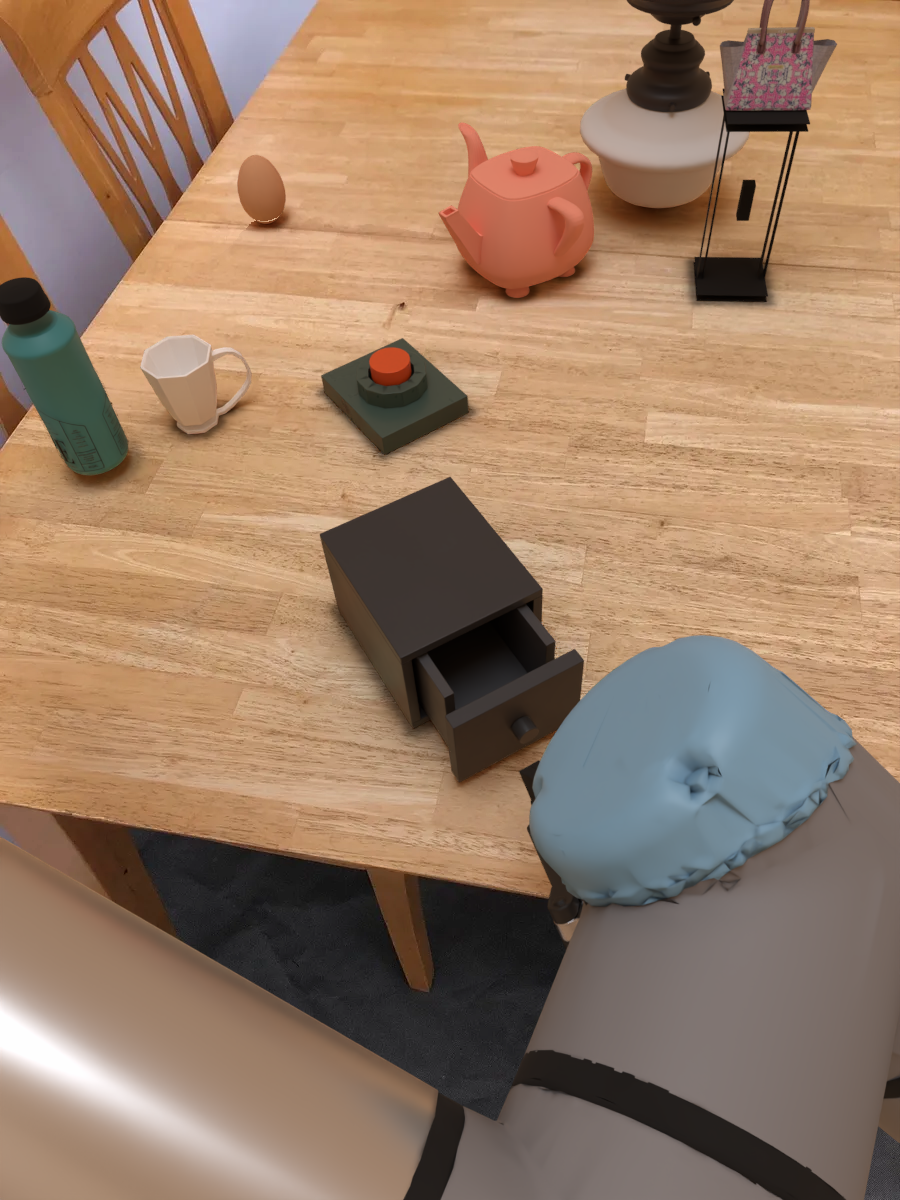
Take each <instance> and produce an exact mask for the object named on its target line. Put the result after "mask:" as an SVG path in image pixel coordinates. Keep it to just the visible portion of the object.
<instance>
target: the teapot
mask: <svg viewBox="0 0 900 1200" xmlns="http://www.w3.org/2000/svg"><path fill="white" fill-rule="evenodd" d="M457 127H458V129H459V132H460V133H461V136H462V137H463V139H464V142H465V145H466V151H467V161H468V163H467V165H468V166H467V179H466V182H465V184H464V187H463V190H462V193H461V195H460V198H459V201H458V205H457V208H456V207H455V206H453V205H448V206H447V207H446V208H443V209H442V210H440V211H439V212H438V216H439V218H440V219H441V221H442V223H443V224H444V227H445V228H446V230H447V231H448V233H449V235H450V237H451V239H452V240H453V242H454V243H455V246H456V249H457V250H458V252H459V254H460V255H461V256H462V258H463V259H464V260H465V262H466V263H467V264H468V266H469V267H471V268H472V269H473V270H474V271H475V272H477V274H479V275H480V276H482V277H483V278H484V279H485V280H487V281H489V282H490V283H492V284H494V285H495V286H497V287H499V288H502V289H505V294H506V295H507V296H508V297H511V298H513V299H519V298H525V297H527V296H528V295H529V293H530V287H531V286H535V285H539V284H542V283H545V282H548V281H551V280H554V279H555V278H558V277H560V278H567V277H570V276H572V275H574V274H575V272H576V268H575V267H576V266H577V265H578V264H579V263H580V262H582V260H583V259H584V258H585V257H586V256H587V254H588V252H589V251H590V249H591V247H592V245H593V243H594V239H595V221H594V214H593V208H592V202H591V198H590V195H589V192H588V191H589V187H590V184H591V181H592V177H593V164H592V162H591V160H590V159H589V158H588V157H587V156H586V155H585V154H582V153H581V152H577V151H576V152H575V151H574V152H573V151H572V152H568V153H566V154H564V155H562V156H561V155H560V154H558V153H556V152H554V151H553V150H551V149H548V148H546V147H544V146H540V145H531V146H525V147H520V148H515V149H513V150H510V151H506V152H503V153H500V154H498V155H495V156H493V157H491V158H488V155H487V152H486V150H485V147H484V144H483V141H482V139H481V137H480V135H479V133H478V132H477V130H476V129H475V128H474V127H473V126H471V125H470V124H468V123H467V122H459V123H458V124H457ZM576 164H579V168H577V166H576Z"/></svg>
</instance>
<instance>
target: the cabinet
mask: <svg viewBox="0 0 900 1200" xmlns="http://www.w3.org/2000/svg"><path fill="white" fill-rule="evenodd" d="M319 538H320V542H321V547H322V550H323V554H324V559H325V562H326V566H327V570H328V574H329V578H330V583H331V587H332V591H333V593H334V598H335V602H336V606H337V609H338V611H339V613H340V614H341V616H342V618H343V619H344V621H345V623H346V624H347V626H348V627H349V629H350V631H351V632H352V634H353V636H354V637H355V638H356V640H357V642H358V643H359V645H360V647H361V648H362V650H363V652H364V653H365V654H366V656H367V658H368V659H369V661H370V663H371V664H372V666H373V668H374V669H375V671H376V672H377V674H378V676H379V677H380V679H381V680H382V682H383V684H384V685H385V687H386V688H387V690H388V692H389V693H390V695H391V697H392V698H393V700H394V701H395V703H396V705H397V706H398V708H399V709H400V711H401V712H402V715H404V717H405V719H406V720H407V722H408V723H409V725H410V727H411V728H412V729H415V728H417V727H419V726H421V725H423V724H425V723H427V722H429V721H431V720H430V718H429V716H428V715H427V713H426V712H425V710H424V709H423V707H422V706H421V704H420V702H419V701H418V698H417V692H416V686H415V680H414V673H413V667H412V661H411V660H412V659H414V658H416V657H418V656H420V655H422V654H424V653H426V652H428V651H430V650H432V649H434V648H436V647H438V646H440V645H442V644H444V643H446V642H448V641H450V640H452V639H454V638H456V637H458V636H461V635H463V634H465V633H467V632H469V631H471V630H473V629H475V628H477V627H479V626H481V625H483V624H485V623H487V622H489V621H491V620H493V619H495V618H497V617H499V616H501V615H503V614H505V613H507V612H509V611H511V610H513V609H515V608H517V607H519V606H521V605H524V604H526V605H527V606H528V607H529V608H530V610H531V611H532V612H533V613H534V615H535V616H536V617H537V618H538V620H539V621H540V622H541V623H542V624H543V621H542V620H543V601H544V600H543V598H544V597H543V594H544V593H543V591H544V590H543V587H542V586H541V584H539V582H538V581H537V580H536V578H535V577H534V576H533V575H532V573H530V571H529V570H528V569H527V567H526V566H525V565H524V564H523V563H522V562H521V560H520V559H519V558H518V557H517V556H516V554H515V553H514V552H513V551H512V549H511V548H510V546H508V545H507V543H506V541H504V540H503V538H502V537H501V536H500V535H499V534H498V533H497V531H496V530H495V529H494V527H493V526H492V525H491V524H490V523H489V521H488V520H487V519H486V518H485V517H484V516H483V514H482V513H481V512H480V510H479V509H478V508H477V507H476V506H475V504H474V503H473V502H472V501H471V499H470V498H469V497H468V496H467V495H466V493H465V492H464V491H463V490H462V489H461V488H460V486H459V485H458V484H457V482H455V480H454V479H453V478H452V477H451V476H449V477H445V478H444V479H441V480H439V481H437V482H434V483H432V484H430V485H427V486H425V487H423V488H421V489H419V490H416V491H414V492H412V493H409V494H408V495H404V496H403V497H400V498H397V499H396V500H393V501H392V502H389V503H387V504H384V505H383V506H382V505H381V506H380V507H377V508H375V509H372V510H371V511H368V512H366V513H363V514H362V515H360V516H357V517H355V518H352V519H351V520H348V521H346V522H343V523H341V524H339V525H337V526H334V527H332V528H329V529H327V530H325V531H323V532H320V533H319Z"/></svg>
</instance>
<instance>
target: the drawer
mask: <svg viewBox="0 0 900 1200" xmlns="http://www.w3.org/2000/svg"><path fill="white" fill-rule="evenodd" d="M411 661H412V667H413V673H414V680H415V686H416V692H417V698H418V701H419V702H420V704H421V706H422V707H423V709H424V710H425V712H426V713H427V715H428V716H429V718H430V720H429V721H431V723H432V725H433V726H434V727H435V729H436V731H437V732H438V734H439V735H440V737H441V738H442V740H443V741H444V743H445V744H446V747H448V754H449V762H450V771H451V773H452V774H453V776H454V778H455V779H456V781H457V782H458V783H462V782H463V781H465V780H467V779H469V778H470V777H472V776H474V775H476V774H478V773H481V772H482V771H484V770H485V769H487V768H490V767H491V766H493V765H495V764H497V763H498V762H500V761H502V760H504V759H506V758H507V757H510V756H511V755H513V754H515V753H517V752H519V751H520V750H522V749H524V748H526V747H528V746H530V745H531V744H534V743H536V742H537V741H540V740H541V739H543V738H545V737H547V736H548V735H550V734H552V733H553V732H557V730H558V729H559V727H560V725H561V724H562V723H563V721H564V720H565V718H566V717H567V716H568V714H569V713H570V712H571V711H572V709H573V708H574V707H575V706H576V705H577V703H578V702H579V701H580V700H581V698H582V697H581V696H582V687H583V676H584V675H583V674H584V666H585V660H584V658H583V657H582V655H580V653H579V652H578V651H577V650H576V648H573V649H571V650H570V651H567V652H565V653H563V654H562V655H560V656H558V657H556V640H555V638H554V637H553V636H552V635H551V633H550V632H549V631H548V629H547V628H546V627H545V626H544V624H543V622H542V623H541V622H540V621H539V620H538V618H537V617H536V616H535V615H534V613H533V612H532V611H531V610H530V608H529V607H528V606H527V605H526V604H524V605H521V606H519V607H517V608H515V609H513V610H511V611H509V612H507V613H505V614H503V615H501V616H499V617H497V618H495V619H493V620H491V621H489V622H487V623H485V624H483V625H481V626H479V627H477V628H475V629H473V630H471V631H469V632H467V633H465V634H463V635H461V636H458V637H456V638H454V639H452V640H450V641H448V642H446V643H444V644H442V645H440V646H438V647H436V648H434V649H432V650H430V651H428V652H426V653H424V654H422V655H420V656H418V657H416V658H414V659H412V660H411Z"/></svg>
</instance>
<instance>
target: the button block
mask: <svg viewBox="0 0 900 1200" xmlns="http://www.w3.org/2000/svg"><path fill="white" fill-rule="evenodd" d="M391 347H393V348H400V349H402V350H404V351H406V352H407V353H408V354H409V356H410V363H411V377H410V378H409V380H408V381H406V382H404V383H402V384H400V385H393V386H383V385H380V384H376V383H375V382H374V381H373V380H372V377H371V370H370V364H369V360H370V358H371V356H372V355H373V354H374V353H375V352H377V351H378V350H381V349H384V348H391ZM320 377H321V382H322V387H323V392H324V393H325V395H326V396H328V397H329V399H330V400H331V401H332V402H333V403H334V404H335V405H336V406H337V407H338V408H339V409H340V410H341V411H342V412H343V413H344V415H345V416H347V418H349V420H350V421H351V422H353V424H354V425H355V426H356V427H357V428H358V429H359V430H360V431H361V432H362V433H363V434H364V435H365V436H366V437H367V438H368V439H369V440H370V441H371V443H373V444H374V445H375V447H377V449H378V450H379V451H380V452H381V453H382V454H383V455H388V454H389V453H391V452H394V451H395V450H398V449H400V448H402V447H403V446H405V445H407V444H409V443H412V442H413V441H415V440H417V439H419V438H421V437H423V436H426V435H427V434H429V433H431V432H434V431H436V430H437V429H439V428H442V427H443V426H445V425H447V424H449V423H451V422H454V421H455V420H457V419H459V418H461V417H463V416H465V415H467V414H468V413H469V397H468V395H467V394H466V393H465V391H463V390H462V389H461V388H460V387H458V386H457V385H456V384H455V383H454V382H453V381H452V380H451V379H449V378H448V377H447V376H446V375H445V374H444V373H443V372H441V370H439V369H438V367H436V366H435V365H434V364H433V363H432V362H431V361H430V360H428V359H427V357H425V356H424V355H423V354H421V352H419V350H417V349H416V348H415V347H413V345H412V344H410V343H409V342H408V341H407V340H406V339H404V338H403V337H401V338H399V339H397V340H395V341H392V342H390V343H388V344H386V345H384V346H382V347H379V348H378V349H376V350H373V351H371V352H369V353H367V354H365V355H362V356H360V357H358V358H356V359H354V360H351V361H349V362H347V363H345V364H343V365H341V366H338V367H336V368H334V369H332V370H330V371H327V372H325V373H323V374H321V375H320Z"/></svg>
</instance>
